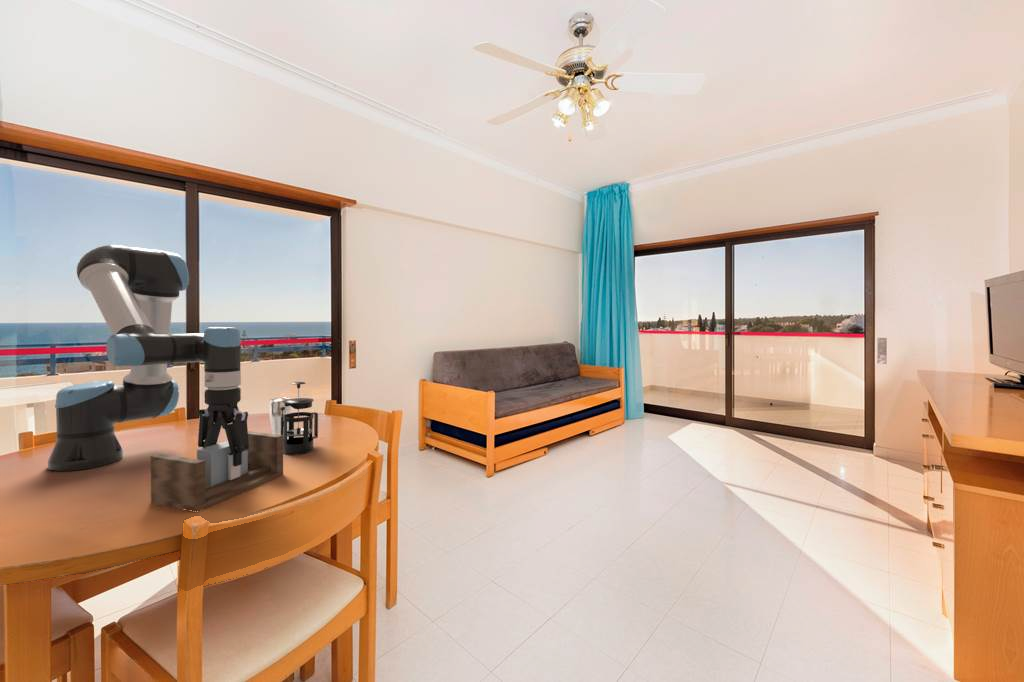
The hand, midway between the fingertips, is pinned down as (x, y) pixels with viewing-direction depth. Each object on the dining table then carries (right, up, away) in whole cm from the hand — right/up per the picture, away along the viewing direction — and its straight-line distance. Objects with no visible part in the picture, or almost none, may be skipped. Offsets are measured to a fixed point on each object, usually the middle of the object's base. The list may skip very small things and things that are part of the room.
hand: (223, 476), depth 104 cm
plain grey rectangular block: (0, -2, 0) cm, 2 cm away
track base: (0, -3, 0) cm, 3 cm away
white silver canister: (-9, -1, +41) cm, 42 cm away
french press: (+3, -2, +31) cm, 32 cm away
